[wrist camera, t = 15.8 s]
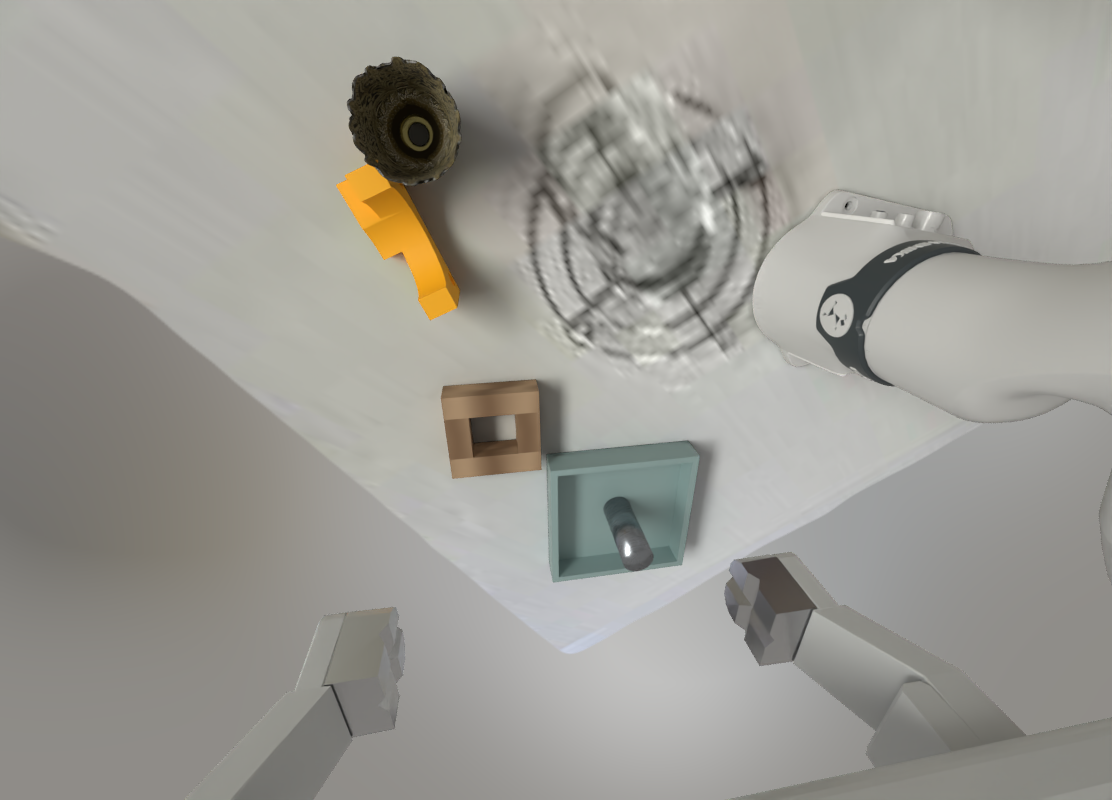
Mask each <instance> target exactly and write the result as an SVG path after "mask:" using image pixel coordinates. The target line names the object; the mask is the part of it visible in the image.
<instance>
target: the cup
mask: <svg viewBox="0 0 1112 800" xmlns="http://www.w3.org/2000/svg"><path fill="white" fill-rule="evenodd" d="M352 91H353V95H352V99H349V100H348V101H347V106H348V110H349V111H350V112H351V114H352V116H351V117H350V118H349V119H350V121H349V129H350V131H351V132H352V135H353V142H354V144H355V146H356V147H357V148H358V149H359V150H360V151H361V152H362V153H363V154H365V162H366V163H367V164H368V165H370V166H373V167H375V168H376V169H377V171H378V172H379V173H380V174H381V175H382V176H383V177H384V178H385V179H387V180H389V181H392V182H397V183H402V184H404V185H407V186H416V185H417V184H421V183H427V182H429V181H432V180H434V181H435V180H437V179H439V178H440V177H441V176H442V175H443V174H444V173H445V172H446V171H447V170H448V169H449V168H450V167H451V166H452V165H453V163H454V161H455V159H456V156H457V154H458V149H459V145H460V143H461V138H462V135H461V133H460V127H461V121H460V114H459V111H458V110H457V106H456V104H455V101H454V99H453V98H452V96H451V95H450V93H449V92H447V90H446V86H445V85H444V83H443V82H442V80H441V79H440V78H437V77H435V76H434V75H433V74H432V73H431V72H430V70H429V69H428V68H427V67H425V66H424V65H423V64H421V63H419V62H417V61H412V60H403V59H402V58H401V57H392V58H391V62H390V63H382V64H380V65H379V66H377V67H375V66H371V65H370V66H367V67H366V68H365V73H363V74H360V75H357V76H356V77H355V78H354V80H353V83H352ZM414 123H420V124H422V125H424V126H425V127H426V129H427V130H428V133H429V139H428V141H427V143H426V144H425V145H422V146H418V145H415V144H414V143H413V142H412V141H411V140H410V138H409V134H408V132H409V128H410V126H411V125H412V124H414ZM375 160H378V163H377V162H376V161H375Z"/></svg>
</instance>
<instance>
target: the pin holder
mask: <svg viewBox="0 0 1112 800" xmlns="http://www.w3.org/2000/svg"><path fill="white" fill-rule="evenodd" d="M441 403H442V409H443V416H444V423H445V430H446V437H447V444H448V451H449V458H450V465H451V472H452V479H454V478H464V477H474V476H484V475H494V474H503V473H513V472H523V471H533V470H541V441H540V409H539V390H538V386H537V382H536V379H535V380H521V381H508V382H494V383H481V384H467V385H454V386H443V389H442V395H441ZM512 414H515V423H516V439H515V440H504V441H493V442H482V443H473V436H472V427H471V418H476V417H488V416H500V415H512Z"/></svg>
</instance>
